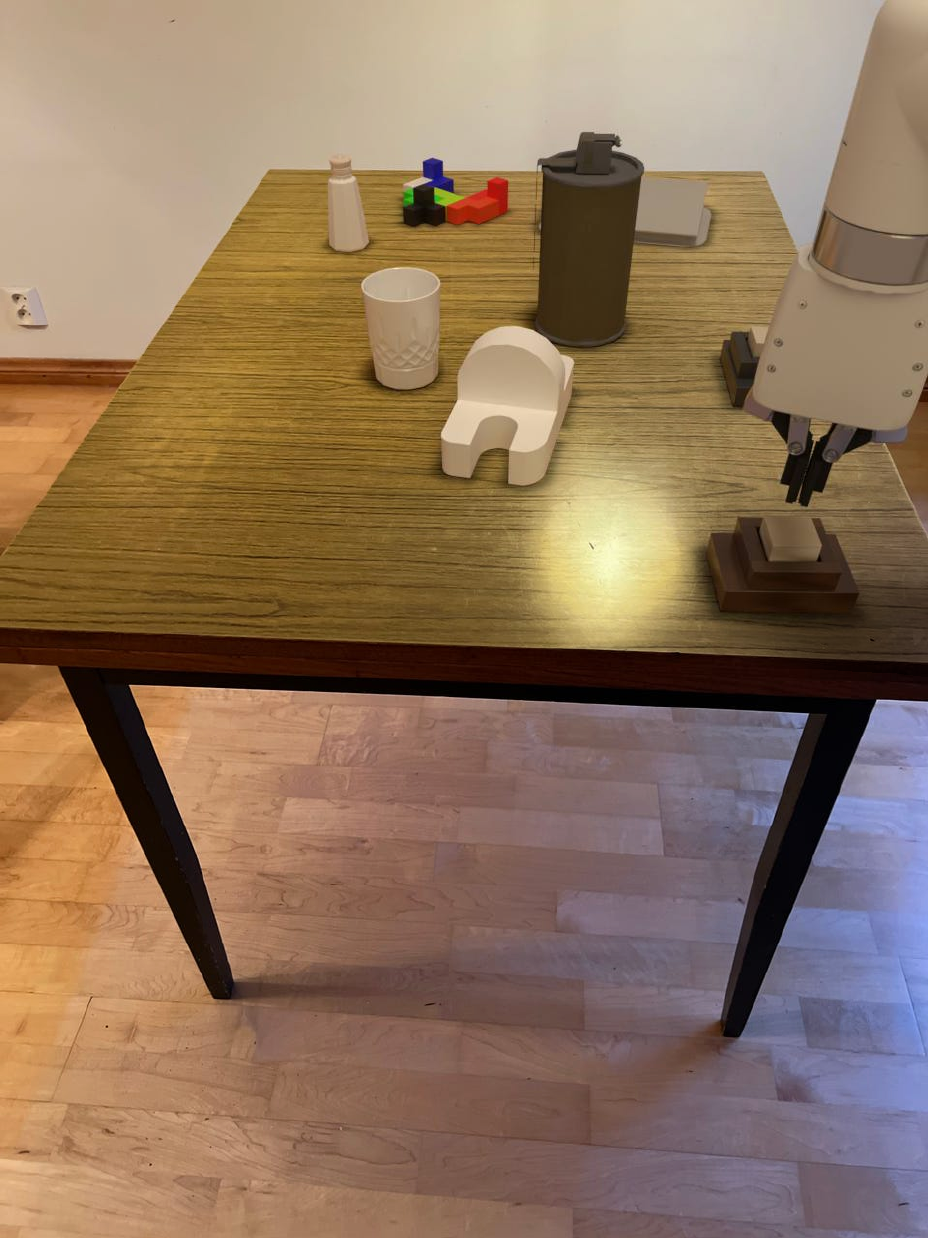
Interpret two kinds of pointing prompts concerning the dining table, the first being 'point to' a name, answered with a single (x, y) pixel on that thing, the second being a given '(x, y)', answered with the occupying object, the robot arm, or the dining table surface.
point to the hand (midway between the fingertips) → (798, 493)
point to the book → (671, 212)
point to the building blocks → (450, 199)
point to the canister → (586, 241)
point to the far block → (738, 366)
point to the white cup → (403, 325)
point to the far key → (757, 340)
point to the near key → (790, 538)
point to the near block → (778, 574)
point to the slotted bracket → (508, 404)
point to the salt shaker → (345, 208)
